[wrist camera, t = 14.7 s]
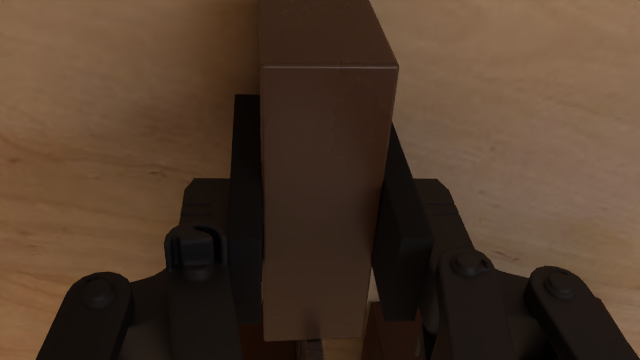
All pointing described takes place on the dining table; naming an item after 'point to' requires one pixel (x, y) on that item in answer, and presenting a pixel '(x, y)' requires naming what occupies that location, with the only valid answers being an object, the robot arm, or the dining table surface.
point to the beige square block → (398, 336)
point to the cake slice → (263, 344)
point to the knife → (321, 164)
